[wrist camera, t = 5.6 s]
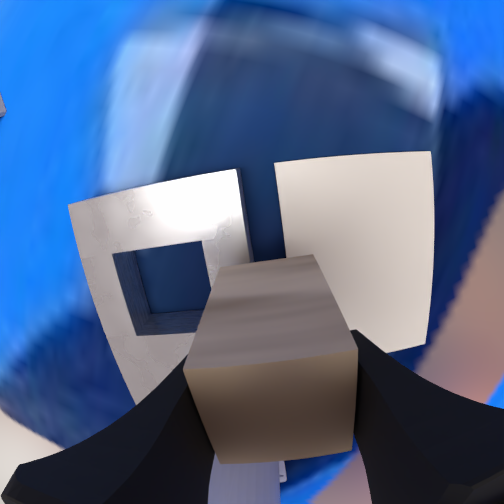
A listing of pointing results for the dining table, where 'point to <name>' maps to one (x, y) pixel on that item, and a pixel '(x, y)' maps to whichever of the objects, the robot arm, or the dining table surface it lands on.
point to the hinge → (2, 107)
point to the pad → (366, 237)
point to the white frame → (147, 236)
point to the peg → (274, 364)
